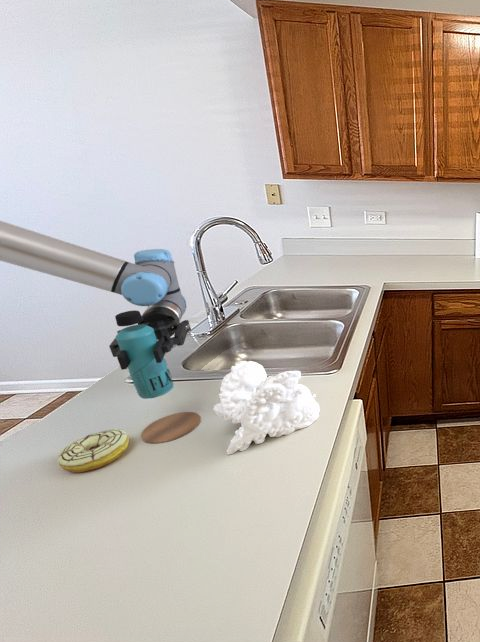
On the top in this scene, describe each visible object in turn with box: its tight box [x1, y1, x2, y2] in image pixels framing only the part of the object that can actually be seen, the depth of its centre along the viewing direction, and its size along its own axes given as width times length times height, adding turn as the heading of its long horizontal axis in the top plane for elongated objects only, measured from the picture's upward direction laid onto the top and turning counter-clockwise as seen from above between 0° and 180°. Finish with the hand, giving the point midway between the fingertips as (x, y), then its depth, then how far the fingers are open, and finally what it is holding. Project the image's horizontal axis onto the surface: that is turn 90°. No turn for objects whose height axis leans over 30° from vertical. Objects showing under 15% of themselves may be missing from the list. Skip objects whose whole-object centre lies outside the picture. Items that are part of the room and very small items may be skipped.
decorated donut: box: [56, 429, 130, 473], centre depth 81 cm, size 10×11×4 cm
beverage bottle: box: [114, 310, 174, 400], centre depth 84 cm, size 6×7×20 cm
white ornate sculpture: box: [212, 360, 321, 456], centre depth 88 cm, size 19×20×20 cm
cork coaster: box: [140, 411, 202, 445], centre depth 90 cm, size 11×11×1 cm
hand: (139, 360), depth 79 cm, fingers closed on beverage bottle, 5 cm apart
